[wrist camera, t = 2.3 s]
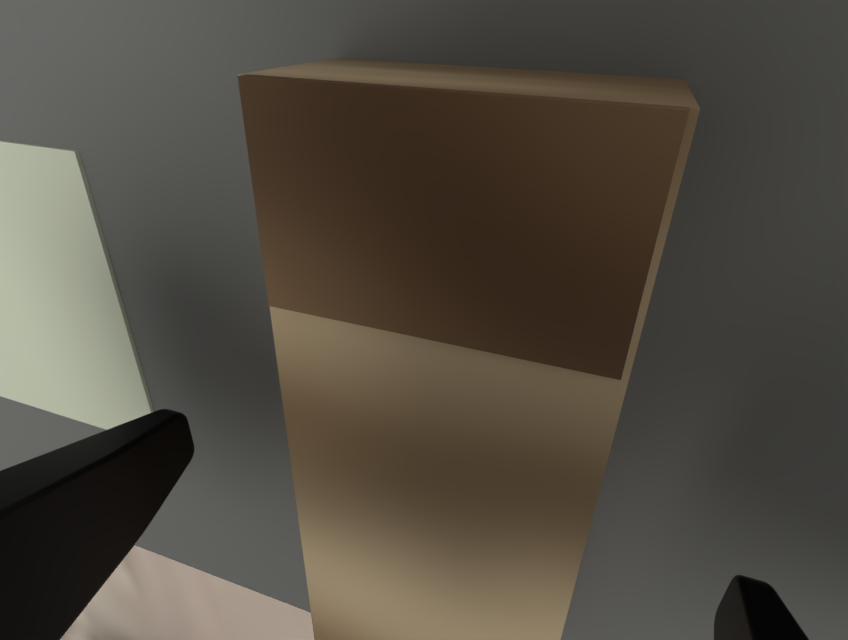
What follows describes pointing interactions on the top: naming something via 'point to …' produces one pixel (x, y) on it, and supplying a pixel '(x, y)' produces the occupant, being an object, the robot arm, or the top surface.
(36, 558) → the robot arm
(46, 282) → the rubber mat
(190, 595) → the top surface
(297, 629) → the top surface
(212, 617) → the top surface
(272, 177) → the two-tone wooden plank
